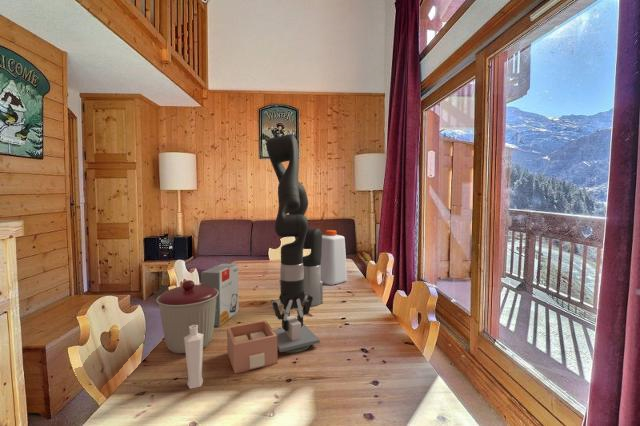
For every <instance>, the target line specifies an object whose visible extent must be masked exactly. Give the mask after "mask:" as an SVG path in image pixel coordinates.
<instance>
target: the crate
mask: <svg viewBox="0 0 640 426" xmlns="http://www.w3.org/2000/svg"><path fill="white" fill-rule="evenodd" d="M273 330H274V329H273V328H272V327H271V325H270V324H269V322H268V321H267V320H265V319H264V320H260V321H253V322H249V323H243V324H237V325H233V326H227V327H226V343H227V348H226V349H227V356H228V358H229V361H230V364H231V367H232V370H233V373H234V374H239V373H243V372H247V371H252V370H255V369H259V368H262V367H267V366H271V365H274V364H275V365H276V364H278V350H277V335H276V333H275V332H274V331H273Z"/></svg>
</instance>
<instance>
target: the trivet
mask: <svg viewBox="0 0 640 426" xmlns="http://www.w3.org/2000/svg"><path fill="white" fill-rule="evenodd" d="M310 347H311V345H308V346H304V347H300V348H296V349H292V350H287V351H283V352H282V353H291V354H294V353H300V352H303V351H306V350H307V349H309V348H310ZM277 351H279V350H278V349H277Z"/></svg>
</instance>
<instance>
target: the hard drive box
mask: <svg viewBox="0 0 640 426" xmlns="http://www.w3.org/2000/svg"><path fill="white" fill-rule="evenodd" d="M200 272H201V273H200V285H207V286H211V287H213V288H215V289H217V290H218V291H219V294H218V296H217V298H216V310H215V321H214V327H221V326H222V325H223V324H225V323H226V322H227V321H228V320H230V319H231V318H233V317H234V316H235V315H236V314H237V313H238V312H239V309H240V308H239V301H240V300H239V264H238V263H236V264H235V263H220V264H218V265H215V266H213V267H211V268H208V269H205V270H203V271H200Z"/></svg>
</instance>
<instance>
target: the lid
mask: <svg viewBox="0 0 640 426" xmlns="http://www.w3.org/2000/svg"><path fill="white" fill-rule="evenodd" d="M287 320H288V331H286V332H285V330H283V328H282V327H281V328H277V329H273V331H274V332H275V333H276V335H277V349H278V350H277V351H279V353H284V352H283V351H287V350H292V349H296V348H300V347H304V346H308V345H310V346H311V345H315V344H320V342H321V341H320V339H319V337H318V336H316V335H315V334H314V332H313V331H312V330H310V328H309V327H308V326H306V324H304V323H303V326H302V328H301V323H300V322H299V321H298V320H297V317H295V316H294V315H288V317H287Z"/></svg>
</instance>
